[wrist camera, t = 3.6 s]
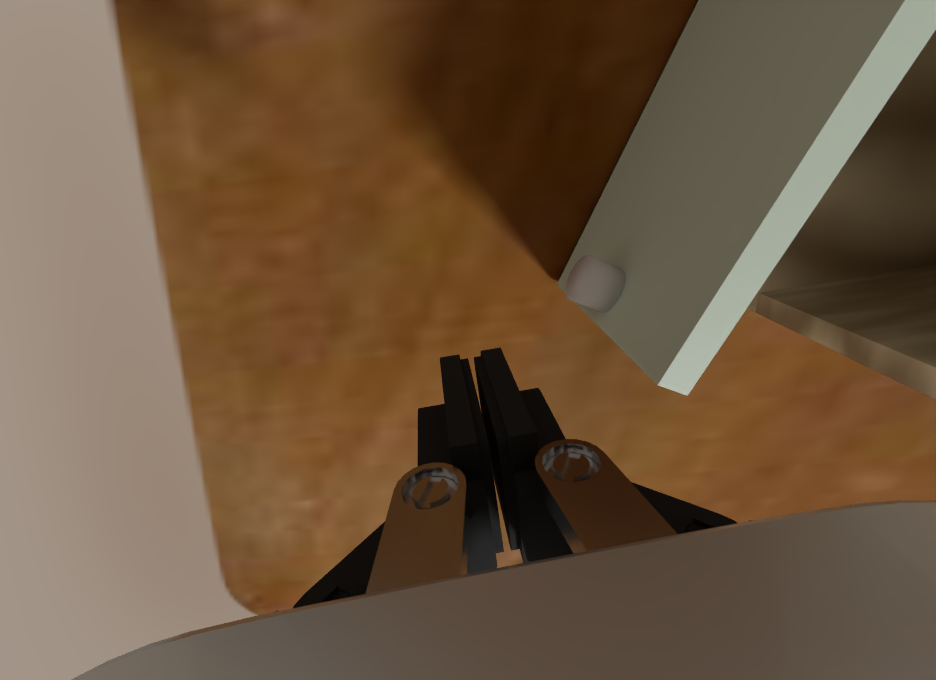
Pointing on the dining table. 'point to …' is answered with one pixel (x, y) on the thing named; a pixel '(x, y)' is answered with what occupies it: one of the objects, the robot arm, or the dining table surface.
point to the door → (733, 167)
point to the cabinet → (872, 245)
